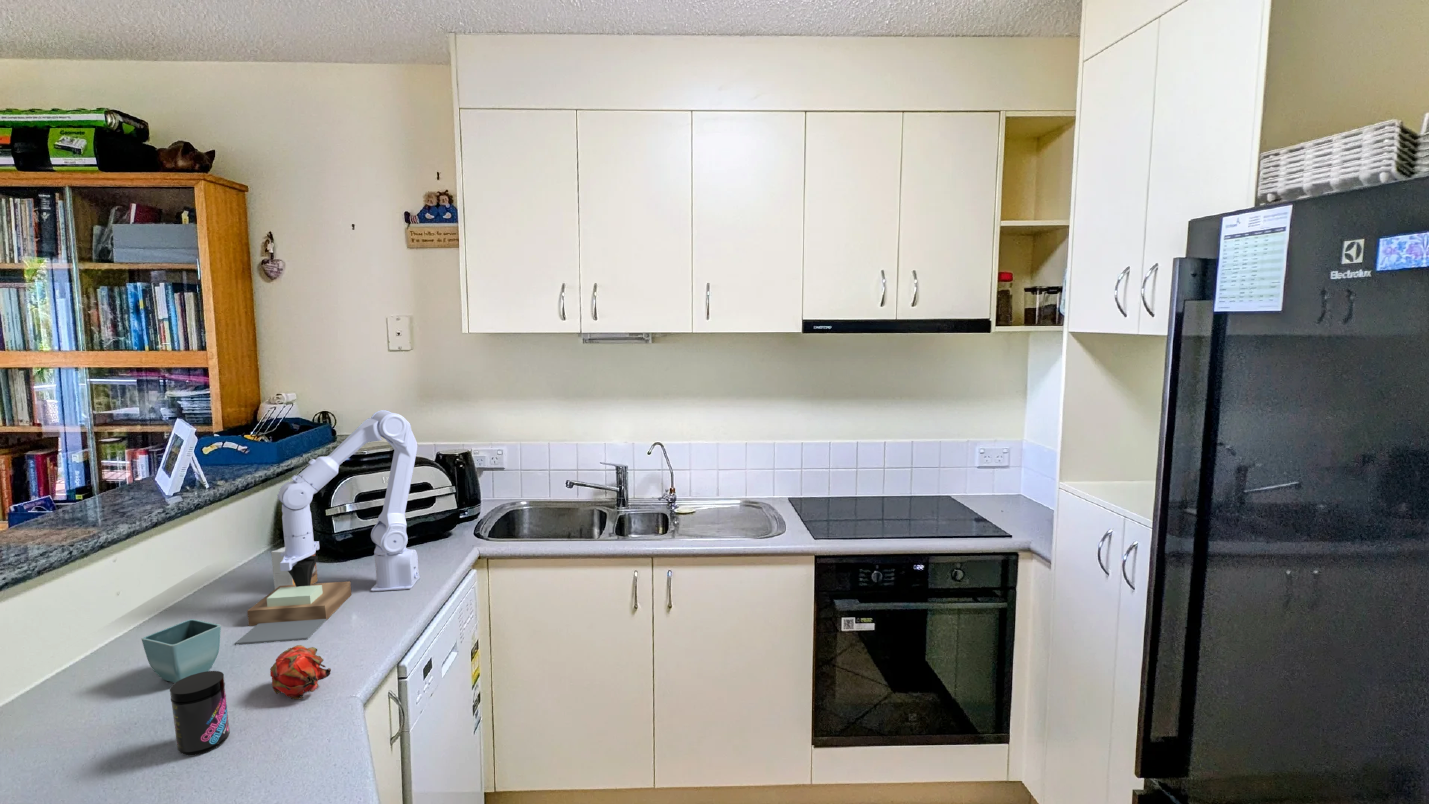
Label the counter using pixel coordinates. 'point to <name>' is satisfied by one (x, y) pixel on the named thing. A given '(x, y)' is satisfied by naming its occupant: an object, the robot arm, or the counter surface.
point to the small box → (284, 576)
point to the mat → (281, 631)
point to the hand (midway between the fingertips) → (303, 589)
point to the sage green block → (294, 596)
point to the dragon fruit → (297, 671)
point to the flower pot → (183, 649)
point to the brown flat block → (302, 606)
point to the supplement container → (200, 712)
